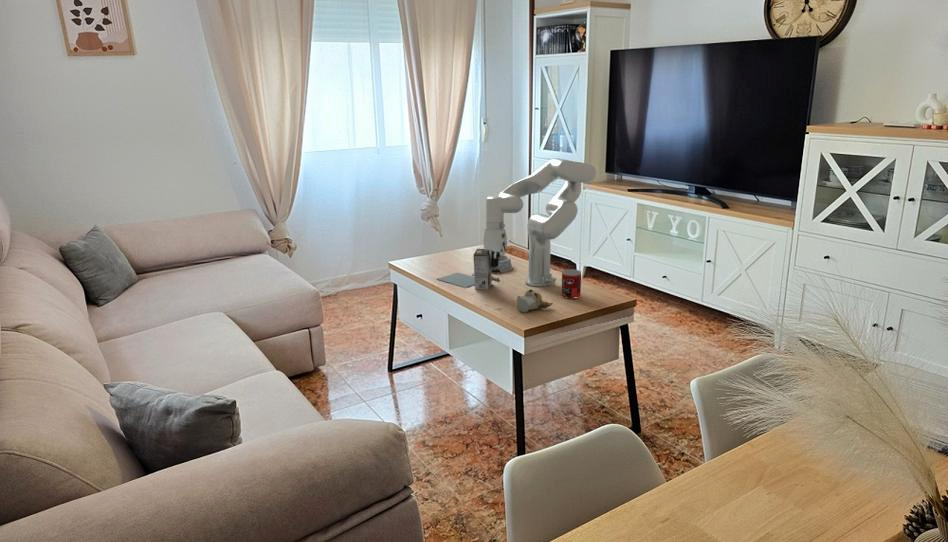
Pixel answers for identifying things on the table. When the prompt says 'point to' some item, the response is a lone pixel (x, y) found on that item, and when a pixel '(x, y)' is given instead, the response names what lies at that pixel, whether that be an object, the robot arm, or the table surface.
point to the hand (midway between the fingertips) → (494, 266)
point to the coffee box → (482, 269)
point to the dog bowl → (503, 264)
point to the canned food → (571, 283)
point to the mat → (459, 279)
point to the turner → (492, 278)
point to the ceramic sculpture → (531, 301)
